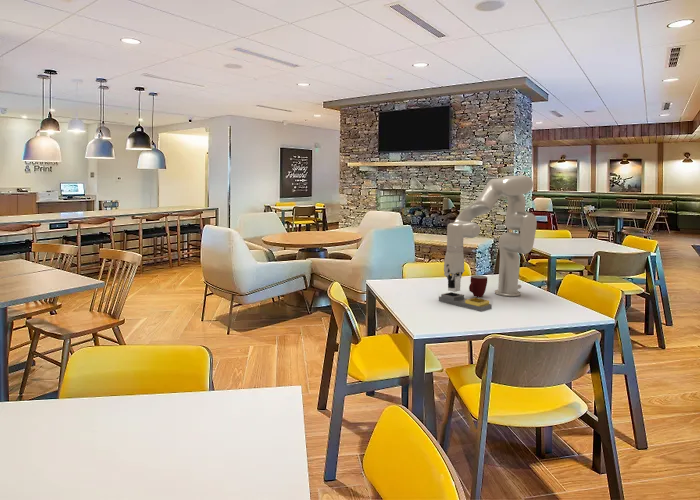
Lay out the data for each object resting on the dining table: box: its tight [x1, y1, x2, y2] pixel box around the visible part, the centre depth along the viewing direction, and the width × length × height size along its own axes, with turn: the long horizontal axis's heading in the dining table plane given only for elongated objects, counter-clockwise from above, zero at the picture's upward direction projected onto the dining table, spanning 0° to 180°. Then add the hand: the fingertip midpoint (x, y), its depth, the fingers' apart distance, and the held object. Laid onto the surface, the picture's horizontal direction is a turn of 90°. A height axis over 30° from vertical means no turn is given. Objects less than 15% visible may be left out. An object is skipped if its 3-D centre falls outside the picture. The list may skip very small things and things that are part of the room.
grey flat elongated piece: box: [438, 291, 493, 312], centre depth 230 cm, size 8×24×4 cm, turn 40°
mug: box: [468, 274, 488, 298], centre depth 246 cm, size 10×8×10 cm
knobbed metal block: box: [447, 273, 461, 293], centre depth 234 cm, size 4×4×8 cm
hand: (454, 286), depth 235 cm, fingers closed on knobbed metal block, 4 cm apart
